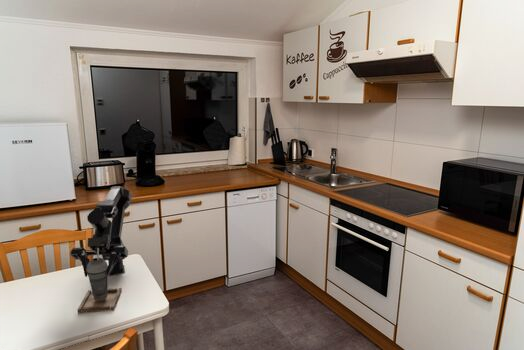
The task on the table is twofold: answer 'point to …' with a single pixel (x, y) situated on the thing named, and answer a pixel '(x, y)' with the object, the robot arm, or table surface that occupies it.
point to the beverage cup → (98, 277)
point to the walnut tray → (100, 302)
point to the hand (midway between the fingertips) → (96, 275)
